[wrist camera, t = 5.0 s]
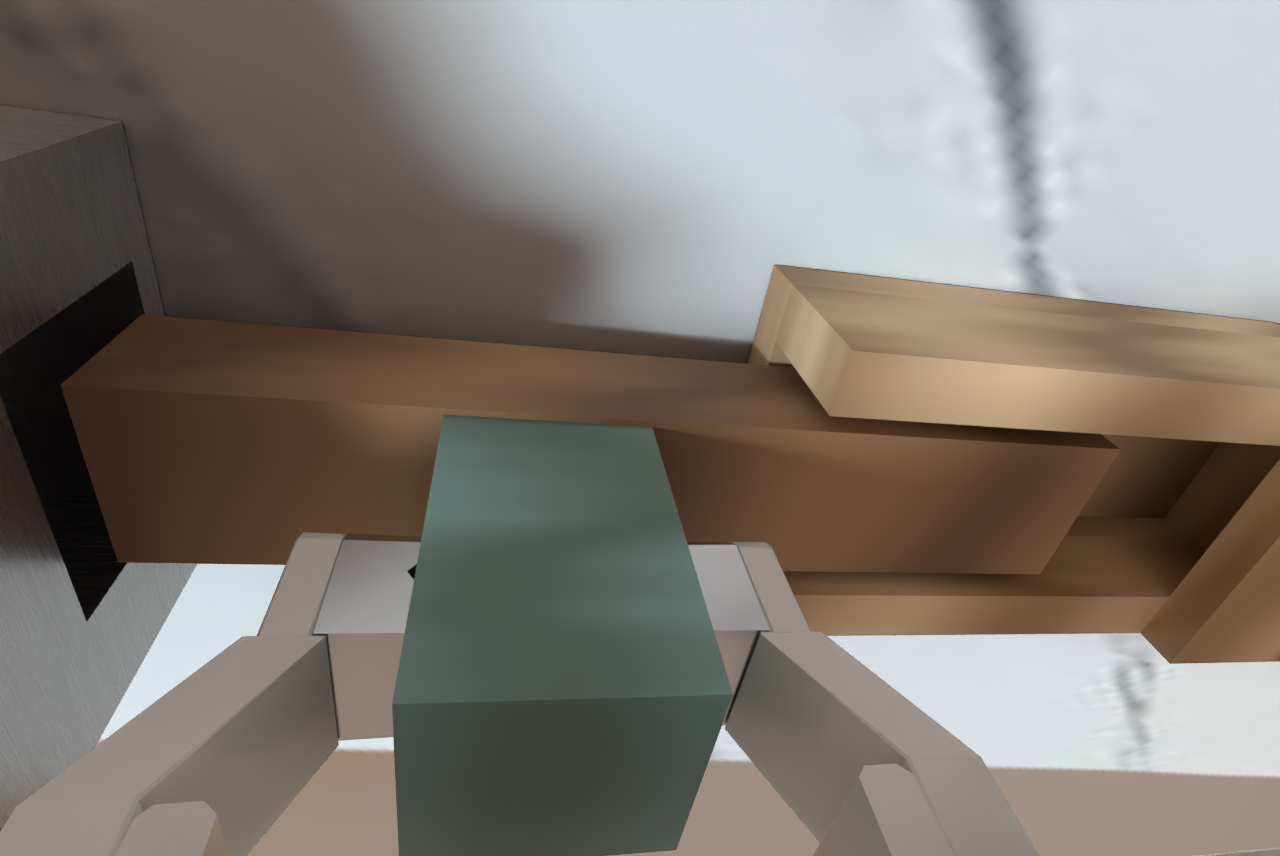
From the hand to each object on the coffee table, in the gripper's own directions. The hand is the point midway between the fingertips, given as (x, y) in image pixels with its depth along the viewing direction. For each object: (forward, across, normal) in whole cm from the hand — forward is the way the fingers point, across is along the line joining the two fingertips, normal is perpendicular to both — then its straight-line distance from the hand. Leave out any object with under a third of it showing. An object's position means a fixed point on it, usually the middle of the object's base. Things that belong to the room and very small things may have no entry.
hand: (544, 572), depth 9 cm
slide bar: (+4, -2, 0) cm, 4 cm away
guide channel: (+5, -10, 0) cm, 11 cm away
